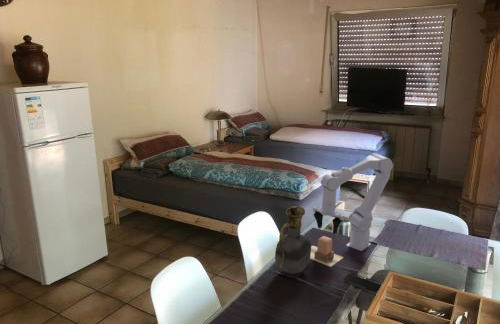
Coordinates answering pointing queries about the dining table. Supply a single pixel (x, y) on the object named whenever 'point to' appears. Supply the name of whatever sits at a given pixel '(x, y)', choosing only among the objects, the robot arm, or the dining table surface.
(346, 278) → the phone
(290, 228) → the pitcher
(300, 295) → the dining table surface
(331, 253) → the base block
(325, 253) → the top block
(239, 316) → the dining table surface
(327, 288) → the dining table surface
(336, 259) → the board
